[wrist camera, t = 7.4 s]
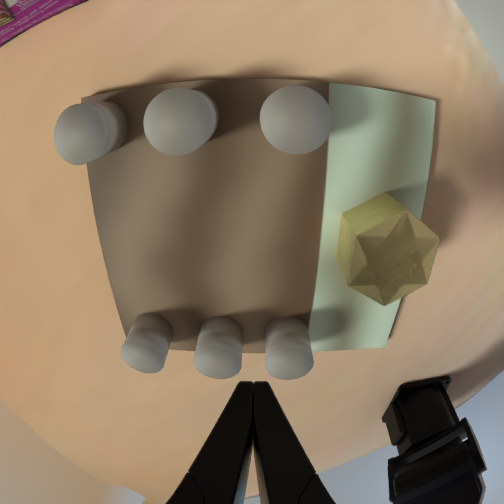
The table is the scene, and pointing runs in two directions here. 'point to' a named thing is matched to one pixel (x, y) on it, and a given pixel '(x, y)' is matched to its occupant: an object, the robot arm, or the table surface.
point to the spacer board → (243, 212)
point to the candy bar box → (28, 14)
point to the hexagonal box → (385, 249)
